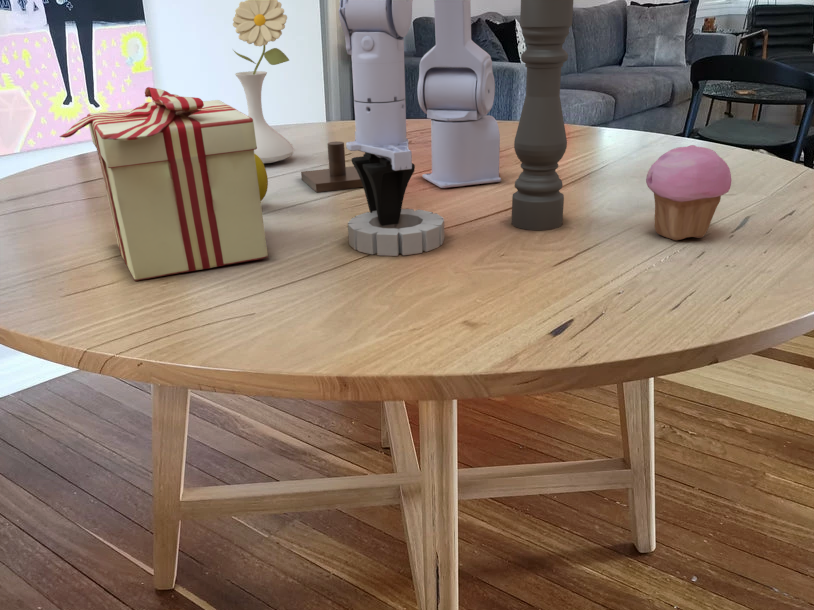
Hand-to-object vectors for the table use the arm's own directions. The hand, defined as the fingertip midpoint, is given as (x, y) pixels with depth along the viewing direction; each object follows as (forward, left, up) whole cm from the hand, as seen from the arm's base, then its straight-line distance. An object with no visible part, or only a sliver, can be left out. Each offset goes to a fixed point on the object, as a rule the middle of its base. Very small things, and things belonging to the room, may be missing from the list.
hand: (384, 220), depth 98 cm
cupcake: (-30, +16, -2) cm, 34 cm away
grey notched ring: (0, +4, -1) cm, 4 cm away
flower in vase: (+5, -48, -2) cm, 48 cm away
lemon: (+13, -18, -2) cm, 22 cm away
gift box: (+24, -1, -2) cm, 24 cm away
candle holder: (-18, +4, -2) cm, 19 cm away
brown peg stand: (-2, -28, -1) cm, 28 cm away
